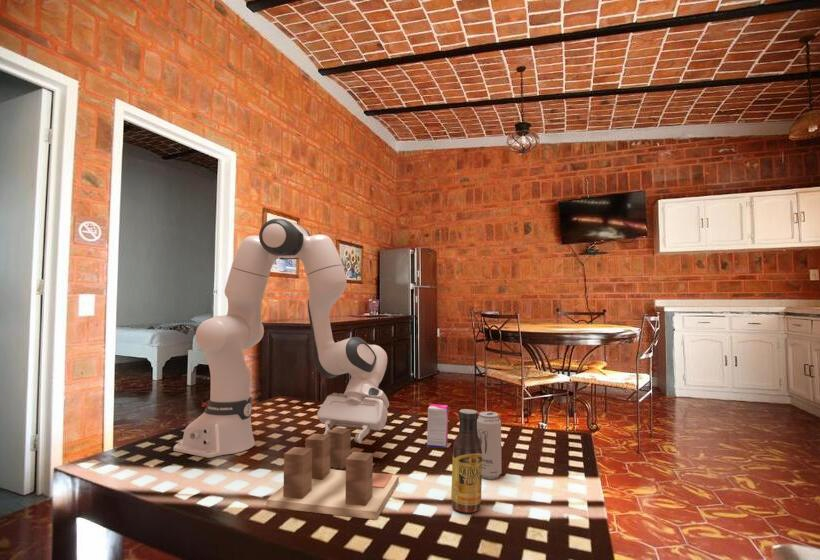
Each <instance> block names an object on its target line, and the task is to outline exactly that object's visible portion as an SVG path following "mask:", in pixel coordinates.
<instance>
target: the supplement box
mask: <svg viewBox="0 0 820 560" xmlns="http://www.w3.org/2000/svg"><path fill="white" fill-rule="evenodd" d="M426 429H427V430H426V441H427V442H426V447H427V448H437V449H446V447H447V445H448V439H449V437H448V436H449V435H448V434H449V405H447V404H435V403H434V404H433V403H431V404H429V406H428V408H427V428H426Z"/></svg>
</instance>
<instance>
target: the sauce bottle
mask: <svg viewBox="0 0 820 560" xmlns="http://www.w3.org/2000/svg"><path fill="white" fill-rule="evenodd" d="M478 417H479V412H478V411H477V410H475V409H469V408H465V409H464V408H461V409H460V410H459V411H458V418H459V424H458V425H459V429H458V434H457V435H456V436H455V439H454V442H453V449H452V450H453V451H452V452H453V453H452V463H451V464H452V466H451V469H452V470H451V494H450V496H451V497H450V498H451V506H452V508H453V509H454V510H455V511H457V512H459V513H465V514H471V513H474V512H477V511H479V510H480V508H481V502H482V481H483V478H482V448H481V441H480V439H479V437H478V434H477V419H478Z"/></svg>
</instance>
